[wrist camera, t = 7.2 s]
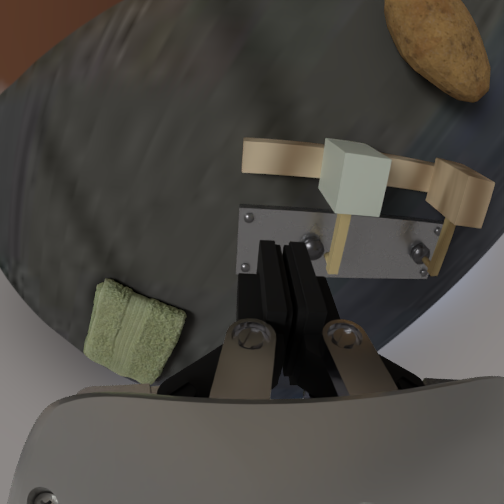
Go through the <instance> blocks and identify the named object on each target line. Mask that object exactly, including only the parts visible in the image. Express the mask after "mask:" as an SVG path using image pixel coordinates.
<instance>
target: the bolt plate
mask: <svg viewBox="0 0 504 504" xmlns="http://www.w3.org/2000/svg"><path fill="white" fill-rule="evenodd" d="M336 218H337V213H334V211H333V210H325V209H312V208H298V207H282V206H265V205H246V204H240V206H239V223H238V241H237V260H236V274H238V273H248V274H256V272H257V262H258V251H259V242H260V240H273V241H275V244H277V245H280V246H281V251H282V253H283V247H284V245H289V242H290V241H293V242H305V244H306V247H307V250H308V253H309V256H310V259H311V262H312V265H313V268H314V271H315V274H316V276H324V277H342V278H397V279H427V277H428V275H429V273H428V272H427V269H428V268H427V266H426V265H425V264H424V263H423V262H422V258H423V257H425V256H427V257H428V259H429V260H430V261H431V259H432V256H433V253H434V250H435V247H436V245H437V242H438V239H439V236H440V233H441V230H442V227H443V223H444V222H443V221H437V220H429V219H420V218H411V217H402V216H392V215H382V214H380V216H379V217H373V216H362V215H351V220H350V224H349V229H348V233H347V238H346V242H345V246H344V250H343V255H342V259H341V263H340V267H339V271H338V274H328V273H327V270H326V266H327V263H326V260H325V258H324V254H325V253H326V252H330V248H331V243H332V238H333V233H334V228H335V223H336Z"/></svg>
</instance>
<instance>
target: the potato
mask: <svg viewBox="0 0 504 504" xmlns="http://www.w3.org/2000/svg"><path fill="white" fill-rule="evenodd" d="M384 13H385V18H386V23H387V27H388V30H389V32H390V34H391V37H392V39H393V41H394V43H395V45H396V47H397V49H398V51H399V53H400V55H401V57H402V58H403V59H404V60H405V61H406V62H407V63H408V64H409V65H410V66H411V67H412V68H413V69H414V70H415V71H416V72H418V73H419V74H420V75H422V76H423V77H424V78H426V79H427V80H429V81H430V82H431V83H433V84H434V85H435V86H437V87H438V88H439V89H440V90H442V91H443V92H445V93H446V94H448V95H450V96H452V97H453V98H455V99H457V100H461V101H467V102H472V103H473V102H476V101H478V100H479V99H480V98H481V97H482V96H484V95H485V94H486V93H487V92H488V91H489V82H490V65H489V61H488V58H487V54H486V51H485V48H484V45H483V42H482V39H481V36H480V34H479V31H478V29H477V27H476V24H475V22H474V20H473V18H472V17H471V15H470V13H469V11H468V10H467V8H466V6H465V5H464V3H463V2H462V1H461V0H385V7H384Z"/></svg>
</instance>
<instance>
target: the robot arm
mask: <svg viewBox="0 0 504 504" xmlns="http://www.w3.org/2000/svg"><path fill="white" fill-rule="evenodd" d="M282 366H283V374H284V376H289V381H290V385H298V386H299V387H301V388H302V389H304V390H303V397H304V399H270V394H271V390H272V389H273V388H274V387H275V386H276V385H277V384H278V379H279V376H280V374H281V369H282ZM7 504H504V377H500V376H485V377H475V378H469V379H462V380H451V379H433V378H424V380H423V381H422V380H421V379H420V378H419V377H417V376H416V375H414V374H413V373H411V372H409V371H407V370H406V369H404V368H402V367H400V366H399V365H397V364H395V363H393V362H392V361H390V360H388V359H386V358H385V357H383V356H381V355H379V354H378V353H377V351H376V349H375V348H374V346H373V344H372V343H371V341H370V339H369V337H368V336H367V334H366V332H365V331H364V330H363V329H362V327H360V326H359V325H357V324H356V323H354V322H351V321H348V320H340V317H339V314H338V311H337V308H336V306H335V303H334V300H333V297H332V294H331V291H330V289H329V286H328V283H327V280H326V278H325V277H324V276H316V274H315V271H314V268H313V265H312V262H311V259H310V256H309V253H308V250H307V247H306V244H305V242H293V241H290V242H289V245H284V247H283V253H282V251H281V246H280V245H277V244H275V241H273V240H260V242H259V251H258V262H257V272H256V274H248V273H238V289H237V319H236V322H234V323H232V324H231V325H230V326H229V328H228V330H227V332H226V335H225V339H224V343H223V344H222V345H221V346H219V347H218V348H216V349H215V350H213V351H212V352H210V353H208V354H207V355H205V356H204V357H202V358H201V359H199V360H197V361H196V362H194V363H193V364H191V365H189V366H188V367H186V368H185V369H183V370H181V371H180V372H178V373H176V374H175V375H173V376H172V377H170V378H168V379H167V380H166V381H164V382H163V383H162V384H161V385H160V386H150V383H145V384H132V385H115V386H114V385H112V386H91V387H86V388H84V389H82V390H80V391H79V392H78V393H77V394H76V395H72V396H69V397H65V398H62V399H60V400H57V401H55V402H53V403H52V404H50V405H49V406H48V407H47V408H45V409H44V411H43V412H42V413H41V414H40V416H39V417H38V419H37V420H36V422H35V424H34V425H33V427H32V429H31V431H30V433H29V435H28V438H27V440H26V442H25V445H24V447H23V450H22V453H21V455H20V459H19V461H18V464H17V467H16V471H15V474H14V478H13V481H12V485H11V489H10V493H9V498H8V502H7Z"/></svg>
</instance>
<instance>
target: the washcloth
mask: <svg viewBox="0 0 504 504" xmlns="http://www.w3.org/2000/svg"><path fill="white" fill-rule="evenodd" d="M95 294H96V295H95V299H94V308H93V312H92V315H91V316H92V318H91V322H90V326H89V330H88V336H87V337H86V340H85V344H84V351H83V352H84V354H85V355H86V356H87V357H88V358H90V359H91V360H92V361H94V362H96V363H99V364H101V365H103V366H105V367H107V368H109V369H110V370H112V371H113V372H115V373H117V374H119V375H121V376H126V377H130V378H133V379H135V380H137V381H138V382H140V383H141V384H145V383H150V384H153V383H154V382H155V380H156V378H158V377H159V376H160V375H161V373H162V372H163V371H162V370H163V367H165V363H166V362H167V360H168V358H169V357H170V355H171V353H172V350H173V348H174V347H175V346H176V343H178V340H179V337H180V334H181V331H182V329H183V328H182V327H183V325H184V323H185V318H186V317H187V316H186V313H185V311H183V310H181V309H177V308H176V307H172V306H170V305H166V304H164V303H162V302H159V301H158V300H156V299H154V298H152V299H149V298H147V297H145V296H143V295H140V294H137V293H135V292H133V290H132V289H131V288H129V287H127V286H126V287H124V286H123V285H122V284H121V285H120V284H119V283H117V282H115V281H114V280H111V279H108V278H106V279H105V281H104V282H102V283H100V284H98V285H97V291H96V292H95Z"/></svg>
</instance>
